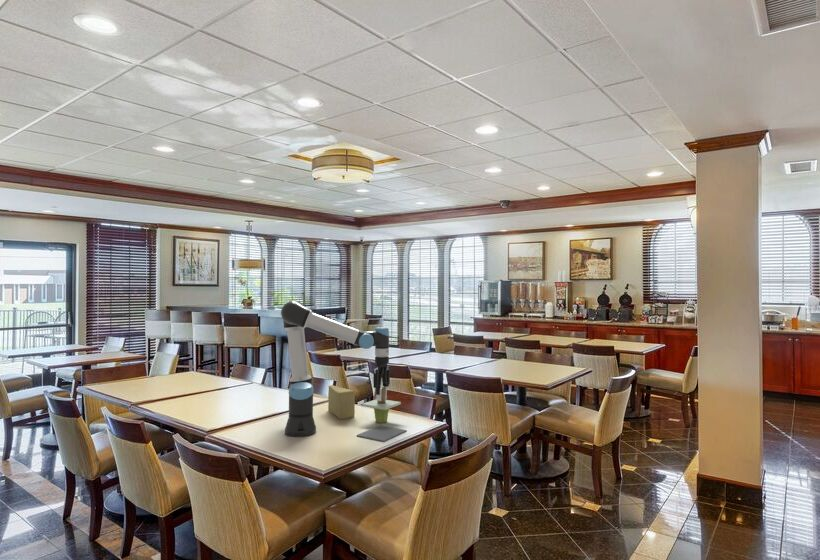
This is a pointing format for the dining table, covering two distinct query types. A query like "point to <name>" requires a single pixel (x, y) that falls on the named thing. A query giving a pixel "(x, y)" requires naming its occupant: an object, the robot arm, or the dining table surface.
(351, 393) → the cheese
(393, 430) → the mat
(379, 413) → the plant pot
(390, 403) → the lid
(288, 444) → the dining table surface
